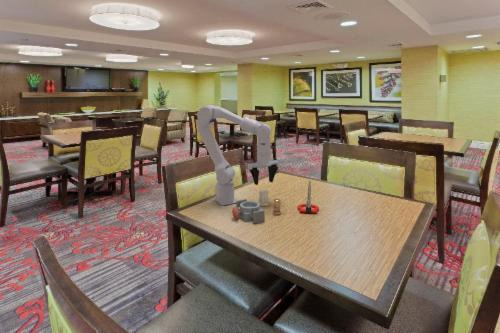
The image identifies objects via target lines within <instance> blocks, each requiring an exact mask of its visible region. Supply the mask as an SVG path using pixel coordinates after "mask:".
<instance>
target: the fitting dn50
mask: <svg viewBox="0 0 500 333" xmlns="http://www.w3.org/2000/svg"><path fill="white" fill-rule="evenodd" d="M257 202H258V203H260V207H267V206H270V201H269V190H267V189H260V190H258V201H257Z"/></svg>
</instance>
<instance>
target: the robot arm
mask: <svg viewBox="0 0 500 333" xmlns="http://www.w3.org/2000/svg"><path fill="white" fill-rule="evenodd" d="M196 118H197V125H196V127H197V128H196V129H197V131H198V133H199V135H200V138H201V140H202V142H203V144H204V145H205V148H206V150H207V152H208V155H209V156H210V158H211V161H212V162H213V164H214V172H215V176H216V181H217V182H216V183H215V187H214V188H215V198H213V200H214V201H216V202H217V203H218V204H220V205H221V206H225V205H226V206H227V205H231V204H232V205H233V204H236V201H238V200H236V199H235V180H234V177H235V175H236V172H235V168H233V167H232V166H231V165H230V163H229V162H228V161H227V160H226V159H225V156H224V155H223V153H222V150H221V148H220V145H219V144H218V142H217V140H216V137H215V136H214V132H213V131H212V129H211V127H212V125H213V123H214V121H215V119H225V120H226V121H229V122H231V123H233V124H236V125H239V127H240V130H243V131H245V132H248V133H250V134H252V135H256V138H257V143H256V145H257V146H256V151H257V152H256V155H257V156H256V162H253V163H248V164H247V169H248V170H249V173H250V174H251V176H252V179H253V184H254V185H255V186H258V185H259V175H260V170H259V169H261V168H267V170H268V182H269V183H273V182H274V179H275V177H276V176H275V175H276V174H277V171H278V170H279V167H278V166H280V161H279V160H278V159H277V160H275V159H274V160H271V150H272V149H271V148H272V146H271V143H272V142H271V135H272V128H271V126H270V125H268V123H263V122H262V120H261V121H258V120H256V119H253V117H252V116H251V115H250V116H244V117H242V116H240V115H238V114H235V113H233V112H232V111H230V110H228V109H226V108H224V107H221V106H218V105H215V104H207V105H202V106H201V107H200V108H199V109H198V111H197V113H196Z"/></svg>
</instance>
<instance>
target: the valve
mask: <svg viewBox="0 0 500 333" xmlns="http://www.w3.org/2000/svg"><path fill="white" fill-rule="evenodd" d="M235 204H236V207H233V208H232V211H231V212H232V217H233V218H234V220H238V219H239V218H240V219H242V220H243V221H245V222H251V221H252V224H254V225H256V224H260V223H264V222H265V220H266V219H265V216H266V215H265V214H266V213H265V212H266V211H265V210H264V209H263V208H261V206H260V203H258V201H255V200H253V201H252V200H248V199H247V198H245V199H240V200H237V201H236V203H235Z"/></svg>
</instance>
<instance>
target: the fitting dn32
mask: <svg viewBox="0 0 500 333" xmlns="http://www.w3.org/2000/svg"><path fill="white" fill-rule="evenodd" d="M281 214H282V210H281V198H274V199H273V209H272V215H274V216H280V215H281Z"/></svg>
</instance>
